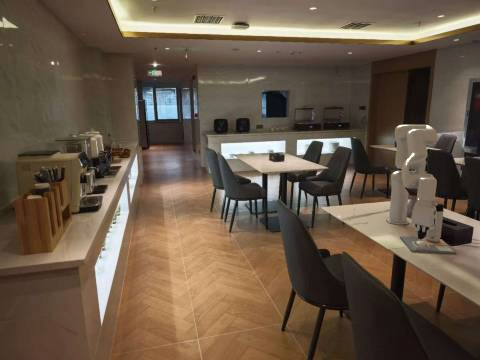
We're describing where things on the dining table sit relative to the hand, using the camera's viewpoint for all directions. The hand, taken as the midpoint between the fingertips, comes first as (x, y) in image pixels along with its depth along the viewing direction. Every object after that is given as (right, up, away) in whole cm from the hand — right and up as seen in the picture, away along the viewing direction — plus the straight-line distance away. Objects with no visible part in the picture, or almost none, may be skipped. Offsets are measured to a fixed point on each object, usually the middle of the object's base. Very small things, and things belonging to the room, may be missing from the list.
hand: (421, 238), depth 166 cm
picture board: (+5, -4, +5) cm, 8 cm away
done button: (0, -4, 0) cm, 4 cm away
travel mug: (+10, -3, +7) cm, 13 cm away
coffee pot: (+23, +6, +57) cm, 61 cm away
